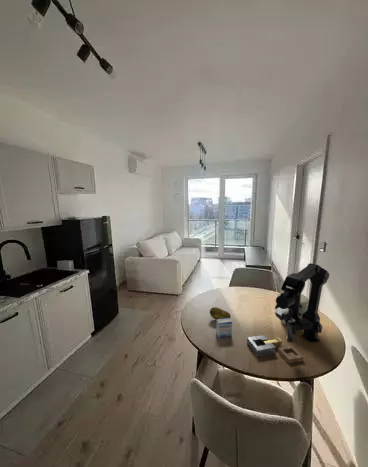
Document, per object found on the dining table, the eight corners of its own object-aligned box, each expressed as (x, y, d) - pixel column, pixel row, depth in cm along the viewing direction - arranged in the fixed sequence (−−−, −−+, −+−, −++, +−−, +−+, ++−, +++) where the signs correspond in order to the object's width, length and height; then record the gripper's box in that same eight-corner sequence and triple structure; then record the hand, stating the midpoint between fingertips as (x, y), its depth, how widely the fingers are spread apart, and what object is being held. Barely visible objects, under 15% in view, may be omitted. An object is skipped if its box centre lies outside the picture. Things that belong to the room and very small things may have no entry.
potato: (229, 325, 129) (229, 313, 128) (208, 321, 133) (208, 310, 132) (230, 318, 137) (231, 306, 136) (211, 314, 141) (211, 303, 140)
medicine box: (218, 337, 118) (219, 323, 117) (216, 332, 122) (216, 319, 121) (232, 335, 120) (232, 321, 118) (228, 331, 124) (229, 317, 123)
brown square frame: (291, 349, 109) (291, 345, 108) (303, 360, 101) (303, 356, 101) (277, 351, 107) (277, 348, 107) (288, 363, 99) (288, 359, 99)
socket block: (263, 340, 115) (264, 334, 115) (275, 353, 106) (275, 347, 105) (247, 343, 113) (247, 337, 113) (257, 356, 104) (257, 350, 103)
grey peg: (291, 337, 105) (292, 317, 103) (296, 342, 101) (297, 322, 100) (284, 338, 104) (285, 318, 102) (289, 343, 101) (291, 323, 99)
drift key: (277, 343, 113) (278, 336, 113) (281, 347, 110) (282, 340, 110) (262, 345, 111) (262, 339, 111) (266, 349, 108) (266, 343, 108)
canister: (313, 333, 121) (316, 299, 117) (279, 330, 124) (281, 296, 121) (302, 316, 138) (305, 286, 135) (272, 313, 142) (274, 284, 138)
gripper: (266, 294, 107) (264, 323, 110) (291, 314, 89) (289, 347, 92) (285, 292, 109) (284, 320, 112) (314, 311, 91) (311, 343, 94)
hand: (291, 331), depth 102 cm, fingers closed on grey peg, 4 cm apart
